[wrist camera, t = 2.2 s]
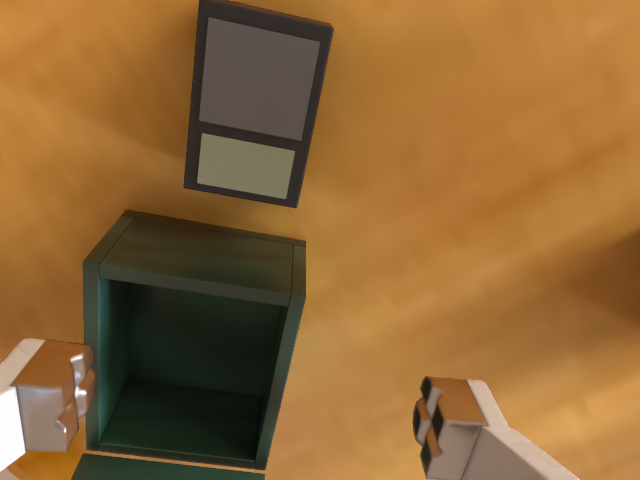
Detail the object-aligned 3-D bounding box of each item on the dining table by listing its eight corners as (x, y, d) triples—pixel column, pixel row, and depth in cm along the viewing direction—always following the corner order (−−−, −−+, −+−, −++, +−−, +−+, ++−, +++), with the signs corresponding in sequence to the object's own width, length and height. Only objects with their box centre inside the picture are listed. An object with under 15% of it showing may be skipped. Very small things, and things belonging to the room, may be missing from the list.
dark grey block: (212, -4, 24) (198, -3, 20) (330, 23, 24) (334, 28, 21) (196, 167, 28) (182, 189, 24) (298, 186, 28) (297, 210, 25)
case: (125, 209, 29) (81, 261, 23) (306, 240, 30) (306, 297, 24) (121, 377, 35) (85, 450, 29) (271, 397, 36) (265, 471, 30)
